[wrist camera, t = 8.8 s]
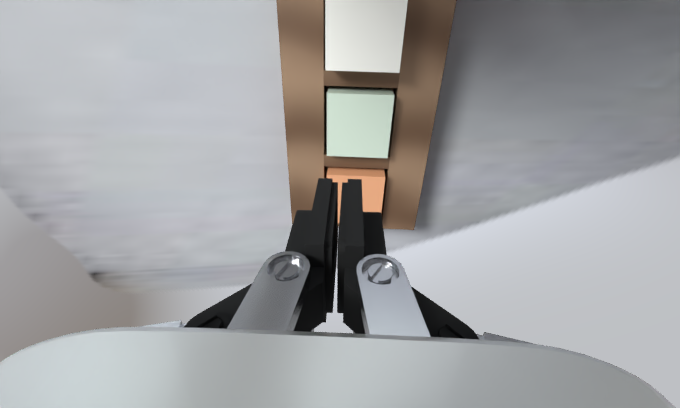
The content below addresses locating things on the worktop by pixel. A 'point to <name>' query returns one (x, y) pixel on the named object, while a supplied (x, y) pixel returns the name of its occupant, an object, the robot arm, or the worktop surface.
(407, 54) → the key panel
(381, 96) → the sage key
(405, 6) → the ivory key
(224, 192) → the worktop surface
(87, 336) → the robot arm
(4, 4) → the worktop surface
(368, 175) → the terracotta key
